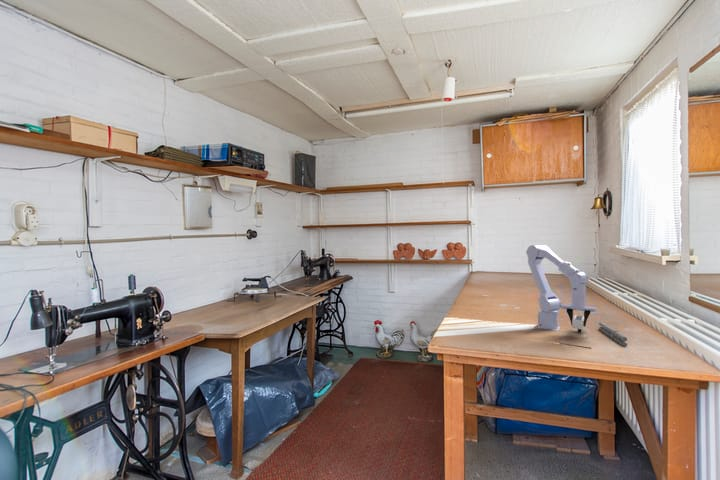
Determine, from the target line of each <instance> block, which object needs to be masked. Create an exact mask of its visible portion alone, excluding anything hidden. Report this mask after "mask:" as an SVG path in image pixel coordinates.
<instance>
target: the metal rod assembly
mask: <svg viewBox="0 0 720 480" xmlns="http://www.w3.org/2000/svg"><path fill="white" fill-rule="evenodd" d="M598 325H599V327H598V330H599V331H600V332H602V333H603V334H605V335H606V336H607V337H609V338H611V340H614V341H615V342H616V343H618V344H620V345H621V346H623V347H627V346H628V343H627V341H628V338H627V337H626V336H625V335H624V334H621V333H620V332H619V331H618V330H616V329H614V328H612V327H611V326H609V325H608V324H606V323H605V322H602V321H599V322H598Z"/></svg>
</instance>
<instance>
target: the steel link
mask: <svg viewBox="0 0 720 480" xmlns="http://www.w3.org/2000/svg"><path fill="white" fill-rule="evenodd" d="M571 326H572V327H571V328H575V329H583V330H585V326H584V314H583V315H582V314H573V320H572V325H571Z"/></svg>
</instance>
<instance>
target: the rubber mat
mask: <svg viewBox="0 0 720 480" xmlns="http://www.w3.org/2000/svg"><path fill="white" fill-rule="evenodd" d="M558 344H559V345H564V346H570V347H577V348H583V349H589V350H591V349H592V347H591V346H590V347H589V346H582V345H577V344H576V345H575V344H570V343H561V342H559V343H558Z"/></svg>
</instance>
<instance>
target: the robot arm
mask: <svg viewBox="0 0 720 480" xmlns="http://www.w3.org/2000/svg"><path fill="white" fill-rule="evenodd" d="M525 254H526V255H527V263H528V266H529V269H530V271H531V274H532V276H533V279H534V281H535V284H536V286H537V288H538V291H539V294H540V295H539V297H538V301H539V304H538V305H539V308H540V310H538V312H537V328H538V329H545V330H553V331H559V330H560V328H561V326H559V312H560V309H561V310H566V314H567V316H568V317H569V320H570V324H571V326H572V320H573V318H574V311H579V312H580V311H581V312H583V316H584V327H586V326H587V325H586V324H587V321H588V318H589V316H590V315H591V313H597V312H598V311H597V310H598V309H597V307H593V306H588V305H587V306H586V293H587V291H586V287H587V286H586V284H587V283H588V281H589V276H588V274H587V273H586V272H585V271H580V269H578V268H576V267H574V265H572V262H570V261H569V262H568V261H564V260H563V259H561V258H560V257H559V256H558V255H557V254H556V253H554V252H553V250H552V249H551V248H550V247H549V246H547V245H546V244H538V245H537V244H533V245H529V246H528V248H527V250H526V251H525ZM544 259H547V260H548V261H550V262H552V263H553V264H554V265H555V266H557V267H558V271H559V272H560V273H561V274H563V275H564V276H565V277H567V279H568V281H569V283H570V285H571V286H570V287H571V304H564V303H563V304H562V301H561V299H559V297H558V296H557V294H555V292H553V291H552V288H551V287H550V284H549V282H548V280H547V277H546V275H545V271H544V270H543V267H542V264H541V263H542V261H543V260H544Z"/></svg>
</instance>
